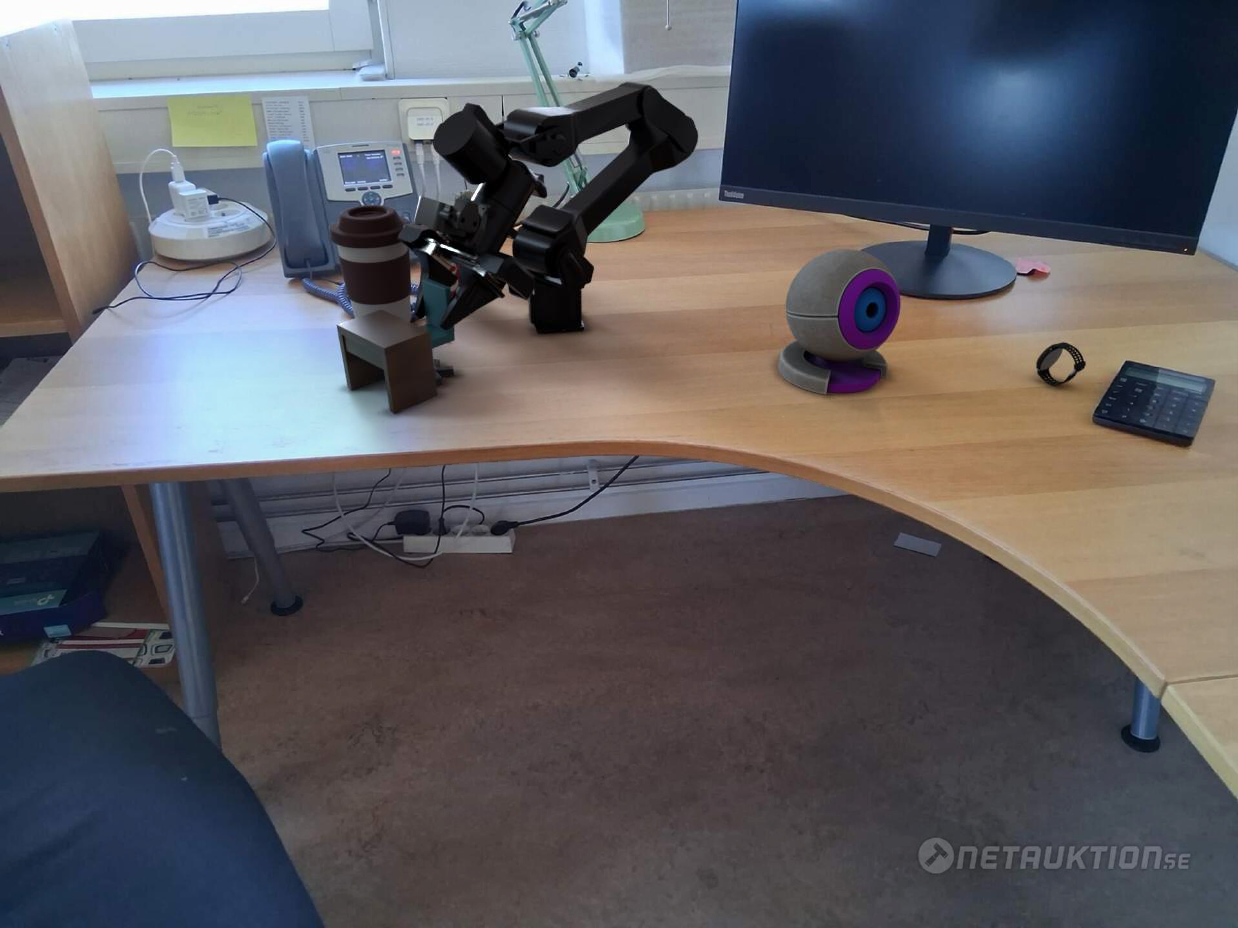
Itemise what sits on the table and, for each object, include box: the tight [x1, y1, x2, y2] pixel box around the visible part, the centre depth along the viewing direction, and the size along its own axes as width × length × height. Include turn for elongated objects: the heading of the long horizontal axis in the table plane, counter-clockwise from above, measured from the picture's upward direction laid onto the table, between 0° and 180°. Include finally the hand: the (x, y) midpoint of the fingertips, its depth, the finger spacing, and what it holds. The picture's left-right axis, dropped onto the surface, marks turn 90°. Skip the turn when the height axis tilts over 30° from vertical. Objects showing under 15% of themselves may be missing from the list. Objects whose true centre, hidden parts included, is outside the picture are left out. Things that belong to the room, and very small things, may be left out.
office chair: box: [418, 278, 456, 387], centre depth 99 cm, size 5×6×11 cm
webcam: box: [777, 248, 902, 395], centre depth 101 cm, size 13×13×15 cm
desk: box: [336, 310, 438, 415], centre depth 96 cm, size 6×9×8 cm, turn 48°
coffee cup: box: [328, 204, 412, 323], centre depth 111 cm, size 10×10×15 cm
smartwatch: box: [1035, 341, 1087, 387], centre depth 101 cm, size 4×5×5 cm
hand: (429, 322), depth 99 cm, fingers closed on office chair, 4 cm apart
